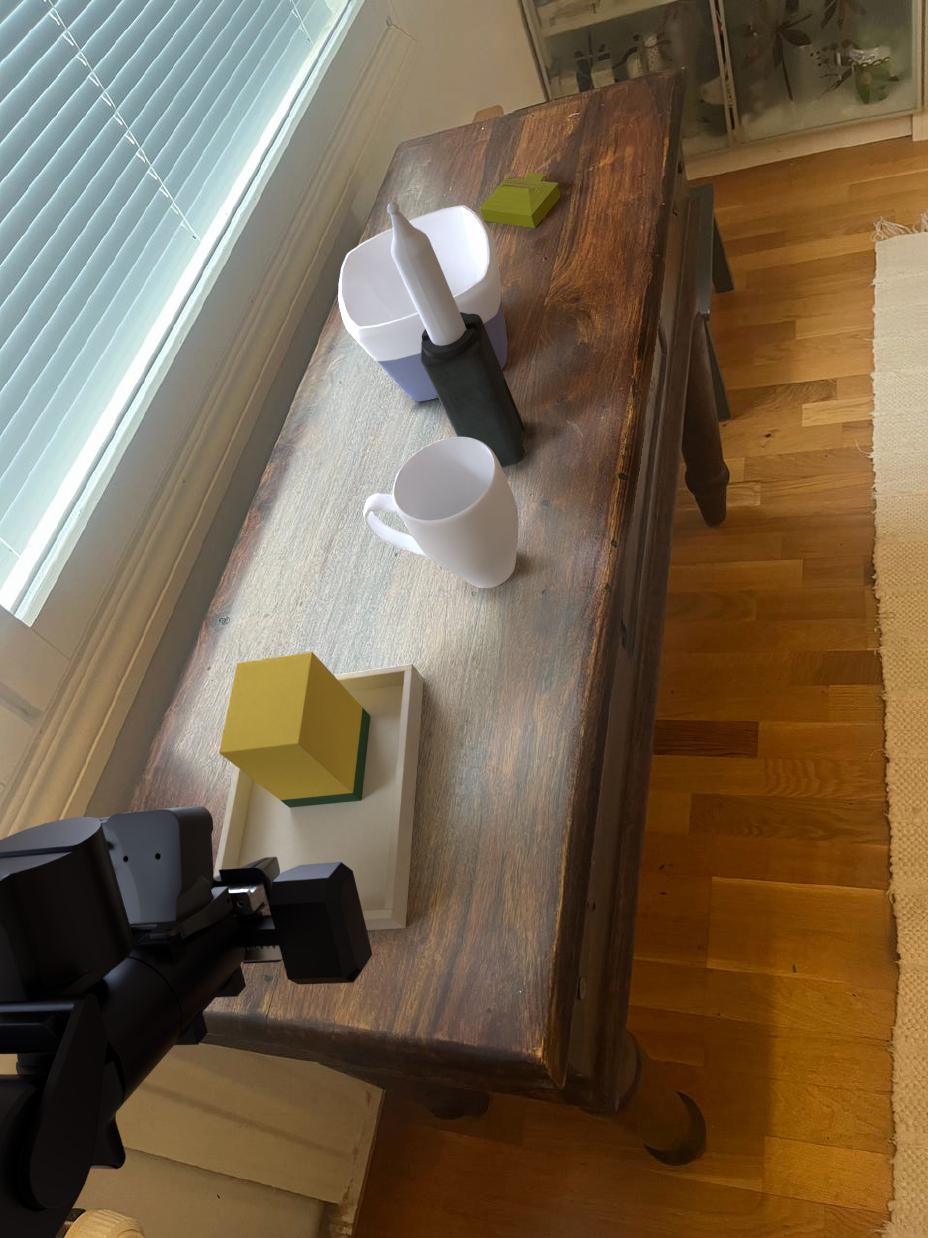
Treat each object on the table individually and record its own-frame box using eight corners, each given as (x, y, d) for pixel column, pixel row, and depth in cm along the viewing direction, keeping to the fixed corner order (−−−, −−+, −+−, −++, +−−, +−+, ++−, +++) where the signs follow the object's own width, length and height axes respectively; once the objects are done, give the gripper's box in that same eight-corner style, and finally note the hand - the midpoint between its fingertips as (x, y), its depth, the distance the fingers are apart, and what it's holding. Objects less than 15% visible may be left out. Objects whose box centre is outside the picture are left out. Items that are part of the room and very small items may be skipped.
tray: (405, 928, 62) (391, 918, 60) (222, 938, 66) (202, 928, 64) (424, 678, 73) (412, 663, 71) (264, 700, 77) (249, 686, 75)
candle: (526, 461, 82) (423, 214, 62) (471, 473, 83) (354, 235, 63) (524, 420, 84) (426, 171, 65) (471, 432, 86) (360, 192, 66)
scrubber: (362, 801, 68) (298, 743, 60) (289, 808, 70) (218, 753, 62) (370, 715, 72) (312, 651, 64) (301, 724, 74) (236, 662, 66)
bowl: (541, 378, 87) (507, 281, 78) (390, 435, 89) (340, 347, 81) (511, 283, 96) (478, 187, 87) (375, 337, 99) (329, 249, 90)
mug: (543, 522, 77) (503, 427, 68) (534, 605, 73) (490, 516, 64) (411, 536, 81) (357, 448, 72) (395, 616, 77) (336, 533, 68)
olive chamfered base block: (466, 228, 104) (458, 205, 102) (511, 176, 107) (504, 153, 104) (538, 239, 98) (531, 215, 96) (583, 183, 101) (577, 159, 99)
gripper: (258, 842, 42) (377, 731, 57) (-62, 870, 48) (122, 762, 62) (313, 1061, 44) (415, 898, 59) (-1, 1063, 49) (164, 914, 64)
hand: (273, 863), depth 61 cm, fingers closed
